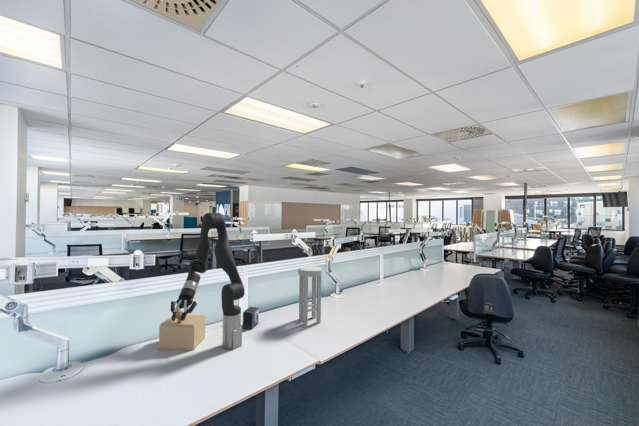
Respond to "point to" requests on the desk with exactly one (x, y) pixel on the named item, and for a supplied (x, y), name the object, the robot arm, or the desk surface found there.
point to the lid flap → (189, 321)
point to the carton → (181, 336)
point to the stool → (303, 306)
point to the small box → (250, 318)
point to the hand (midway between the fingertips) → (177, 320)
